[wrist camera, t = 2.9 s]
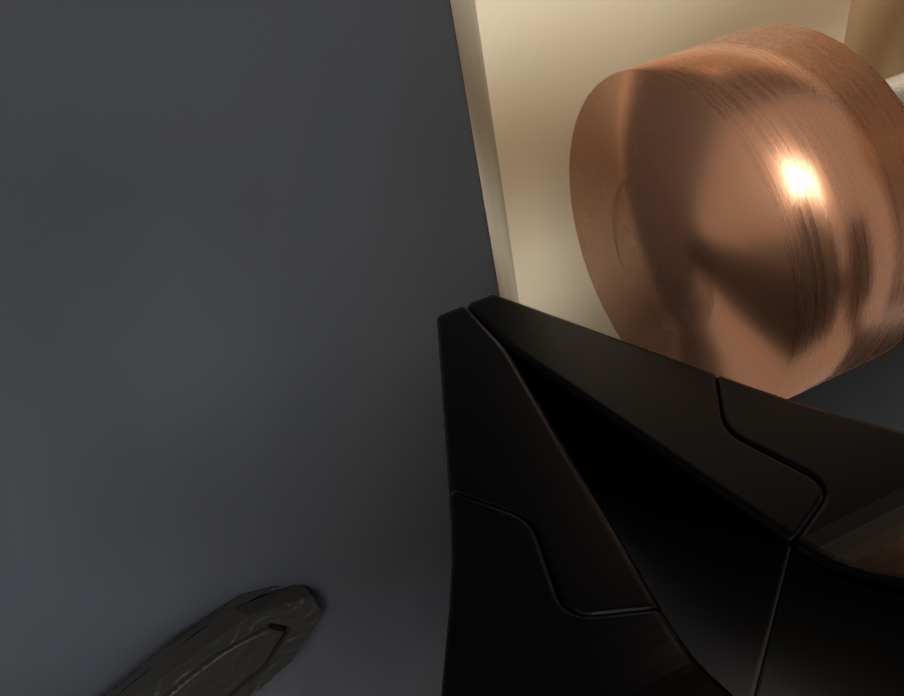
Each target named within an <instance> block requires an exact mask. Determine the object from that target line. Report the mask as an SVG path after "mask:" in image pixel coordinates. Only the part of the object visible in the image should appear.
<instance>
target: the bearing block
mask: <svg viewBox="0 0 904 696" xmlns="http://www.w3.org/2000/svg"><path fill="white" fill-rule="evenodd" d="M450 3H451V9H452V15H453V21H454V26H455V32H456V38H457V44H458V50H459V56H460V62H461V68H462V74H463V80H464V86H465V92H466V98H467V104H468V110H469V115H470V121H471V127H472V133H473V139H474V145H475V151H476V157H477V163H478V169H479V175H480V181H481V187H482V193H483V199H484V205H485V210H486V216H487V222H488V228H489V234H490V240H491V246H492V252H493V258H494V264H495V270H496V276H497V282H498V288H499V294H500V296H501V297H503V298H506V299H509V300H512V301H514V302H517V303H520V304H523V305H525V306H528V307H531V308H534V309H536V310H539V311H542V312H545V313H547V314H550V315H553V316H556V317H559V318H561V319H564V320H567V321H570V322H572V323H575V324H578V325H581V326H583V327H586V328H589V329H592V330H594V331H597V332H600V333H603V334H605V335H608V336H611V337H614V338H617V339H619V340H621V338H620V337H619V335H618V333H617V332H616V330H615V329H614V327H613V325H612V323H611V321H610V320H609V318H608V316H607V314H606V312H605V310H604V308H603V306H602V304H601V302H600V300H599V298H598V295H597V293H596V291H595V288H594V286H593V283H592V281H591V279H590V276H589V273H588V270H587V267H586V264H585V262H584V258H583V255H582V251H581V248H580V245H579V241H578V236H577V232H576V228H575V223H574V217H573V211H572V205H571V195H570V180H569V163H570V149H571V141H572V136H573V132H574V127H575V123H576V120H577V118H578V115H579V112H580V109H581V107H582V106H583V104H584V102H585V100H586V98H587V96H588V95H589V94H590V93H591V91H592V90H593V89H594V88H595V86H597V85H598V84H599V83H600V82H601V81H603V80H604V79H605V78H607V77H609V76H611V75H613V74H615V73H617V72H620V71H623V70H626V69H629V68H631V67H634V66H637V65H640V64H643V63H646V62H649V61H652V60H655V59H658V58H661V57H664V56H667V55H670V54H673V53H676V52H679V51H682V50H685V49H688V48H690V47H693V46H696V45H699V44H702V43H705V42H708V41H711V40H714V39H717V38H720V37H723V36H726V35H729V34H732V33H735V32H738V31H741V30H744V29H746V28H751V27H755V26H759V25H763V24H790V25H796V26H803V27H806V28H809V29H812V30H815V31H818V32H821V33H824V34H826V35H828V36H830V37H832V38H833V39H835V40H837V41H839V42H841V43H843V44H845V45H846V46H847V47H849V48H850V49H851V50H853V51H854V52H855V53H857V54H858V55H859V56H861V57H862V58H863V59H865V60H866V61H867V62H868V63H869V64H870V65H871V66H872V67H873V68H874V69H875V70H876V71H877V72H878V73H879V74H880V75H881V76H882V77H883V78H884V79H887V78H889V77H892V76H895V75H898V74H900V73H903V72H904V0H450Z"/></svg>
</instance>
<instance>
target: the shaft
mask: <svg viewBox="0 0 904 696" xmlns="http://www.w3.org/2000/svg"><path fill="white" fill-rule="evenodd" d="M569 180H570V195H571V205H572V211H573V217H574V223H575V228H576V232H577V236H578V241H579V245H580V248H581V251H582V255H583V258H584V262H585V264H586V267H587V270H588V273H589V276H590V279H591V281H592V283H593V286H594V288H595V291H596V293H597V295H598V298H599V300H600V302H601V304H602V306H603V308H604V310H605V312H606V314H607V316H608V318H609V320H610V321H611V323H612V325H613V327H614V329H615V330H616V332H617V333H618V335H619V337H620V338H621V340H622V341H625V342H628V343H630V344H633V345H636V346H639V347H641V348H644V349H647V350H650V351H652V352H655V353H658V354H661V355H663V356H666V357H669V358H672V359H675V360H677V361H680V362H683V363H686V364H688V365H691V366H694V367H697V368H699V369H702V370H705V371H708V372H710V373H713V374H714V375H715V377H716V379H717V377H719V376H722V377H725V378H728V379H730V380H733V381H736V382H739V383H741V384H744V385H747V386H750V387H753V388H756V389H759V390H762V391H765V392H768V393H771V394H774V395H776V396H779V397H782V398H785V399H789V398H791V397H793V396H795V395H797V394H799V393H802V392H804V391H806V390H808V389H810V388H812V387H815V386H817V385H819V384H821V383H823V382H825V381H828V380H830V379H832V378H834V377H836V376H838V375H841V374H843V373H845V372H847V371H849V370H851V369H854V368H856V367H858V366H860V365H862V364H865V363H867V362H869V361H871V360H873V359H875V358H878V357H880V356H882V355H884V354H885V353H886V352H888V351H889V350H891V349H892V348H894V347H895V346H896V345H898V344H899V343H900V342H901V341H902V340H903V339H904V72H903V73H900V74H898V75H895V76H892V77H889V78H887V79H884V78H883V77H882V76H881V75H880V74H879V73H878V72H877V71H876V70H875V69H874V68H873V67H872V66H871V65H870V64H869V63H868V62H867V61H866V60H865V59H863V58H862V57H861V56H859V55H858V54H857V53H855V52H854V51H853V50H851V49H850V48H849V47H847V46H846V45H845V44H843V43H841V42H839V41H837V40H835V39H833V38H832V37H830V36H828V35H826V34H824V33H821V32H818V31H815V30H812V29H809V28H806V27H803V26H796V25H790V24H763V25H759V26H755V27H751V28H746V29H744V30H741V31H738V32H735V33H732V34H729V35H726V36H723V37H720V38H717V39H714V40H711V41H708V42H705V43H702V44H699V45H696V46H693V47H690V48H688V49H685V50H682V51H679V52H676V53H673V54H670V55H667V56H664V57H661V58H658V59H655V60H652V61H649V62H646V63H643V64H640V65H637V66H634V67H631V68H629V69H626V70H623V71H620V72H617V73H615V74H613V75H611V76H609V77H607V78H605V79H604V80H603V81H601V82H600V83H599V84H598V85H597V86H595V88H594V89H593V90H592V91H591V93H590V94H589V95H588V96H587V98H586V100H585V102H584V104H583V106H582V107H581V109H580V112H579V115H578V118H577V120H576V123H575V127H574V132H573V136H572V141H571V149H570V163H569Z"/></svg>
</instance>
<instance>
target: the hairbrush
mask: <svg viewBox="0 0 904 696" xmlns="http://www.w3.org/2000/svg"><path fill="white" fill-rule="evenodd" d="M274 587H282V586H274ZM274 587H270V588H265V589H261V590H256V591H252V592H248V593H244V594H240V595H238V596H237V597H235V598H234V599H233V600H231V601H230V602H228V603H227V604H226V605H224V606H223V607H221V608H220V609H219V610H217V611H216V612H214V613H213V614H211V615H210V616H209V617H207V618H206V619H204V620H203V621H202V622H200V623H199V624H197V625H196V626H194V627H193V628H192V629H190V630H189V631H187V632H186V633H185V634H183V635H182V636H180V637H179V638H177V639H176V640H175V641H173V642H172V643H170V644H169V645H168V646H166V647H165V648H163V649H162V650H160V651H159V652H158V653H157V654H155V655H154V656H153V657H152V658H151V659H149V660H148V661H147V662H146V663H145V664H143V665H142V666H141V667H140V668H139V669H137V670H136V671H135V672H134V673H132V674H131V675H130V676H129V677H128V678H126V679H125V680H124V681H123V682H122V683H120V684H119V685H118V686H117V687H116V688H114V689H113V690H112V691H111V692H110V693H108V694H107V695H106V696H252V695H253V694H255V693H256V692H257V691H258V690H259V689H260V688H261V687H263V686H264V685H265V684H266V683H267V682H268V681H269V680H271V679H272V678H273V677H274V676H275V675H276V674H277V673H279V672H280V671H281V670H282V669H283V668H284V667H285V666H286V665H288V664H289V663H290V662H291V661H292V660H293V658H294V657H295V655H296V654H297V652H298V650H299V649H300V647H301V646H302V644H303V643H304V641H305V639H306V638H307V636H308V635H309V633H310V631H311V630H312V628H313V627H314V625H315V624H316V622H317V620H318V619H319V617H320V616H321V614H322V610H321V607H320V603H319V600H318V598H317V597H316V596H315V595H314V594H313V593H312V592H311V591H309V590H308V589H307V588H306V587H305V586H304V585H303V584H302V585H293V586H289V587H286V588H283V589H281V590H278V591H276V592H273V593H271V594H268V595H266V596H263V597H261V598H258V599H256V600H253V601H251V602H249V601H250V600H252V599H254V598H255V597H257V596H259V595H260V594H262V593H264V592H266V591H267V590H269V589H271V588H274ZM247 602H248V603H247Z"/></svg>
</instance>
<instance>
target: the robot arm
mask: <svg viewBox="0 0 904 696" xmlns="http://www.w3.org/2000/svg"><path fill="white" fill-rule="evenodd" d="M437 325H438V340H439V354H440V369H441V383H442V398H443V413H444V427H445V442H446V456H447V471H448V485H449V494H450V497H449V506H450V520H451V552H452V566H451V585H450V604H449V617H448V628H447V639H446V650H445V661H444V672H443V682H442V693H441V696H904V432H900V431H897V430H893V429H889V428H886V427H882V426H878V425H875V424H871V423H867V422H864V421H860V420H856V419H853V418H849V417H845V416H842V415H839V414H835V413H832V412H828V411H825V410H822V409H818V408H815V407H811V406H808V405H805V404H801V403H798V402H794V401H791V400H788V399H785V398H782V397H779V396H776V395H774V394H771V393H768V392H765V391H762V390H759V389H756V388H753V387H750V386H747V385H744V384H741V383H739V382H736V381H733V380H730V379H728V378H725V377H722V376H719V377H717V379H716V377H715V375H714V374H713V373H710V372H708V371H705V370H702V369H699V368H697V367H694V366H691V365H688V364H686V363H683V362H680V361H677V360H675V359H672V358H669V357H666V356H663V355H661V354H658V353H655V352H652V351H650V350H647V349H644V348H641V347H639V346H636V345H633V344H630V343H628V342H625V341H622V340H619V339H617V338H614V337H611V336H608V335H605V334H603V333H600V332H597V331H594V330H592V329H589V328H586V327H583V326H581V325H578V324H575V323H572V322H570V321H567V320H564V319H561V318H559V317H556V316H553V315H550V314H547V313H545V312H542V311H539V310H536V309H534V308H531V307H528V306H525V305H523V304H520V303H517V302H514V301H512V300H509V299H506V298H503V297H501V296H497V295H491V296H488V297H486V298H483V299H481V300H478V301H476V302H473V303H471V304H469V305H468V307H467V308H465V307H460V308H458V309H455V310H452V311H450V312H447V313H445V314H442V315H440V316H439V317H438V319H437Z"/></svg>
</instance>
